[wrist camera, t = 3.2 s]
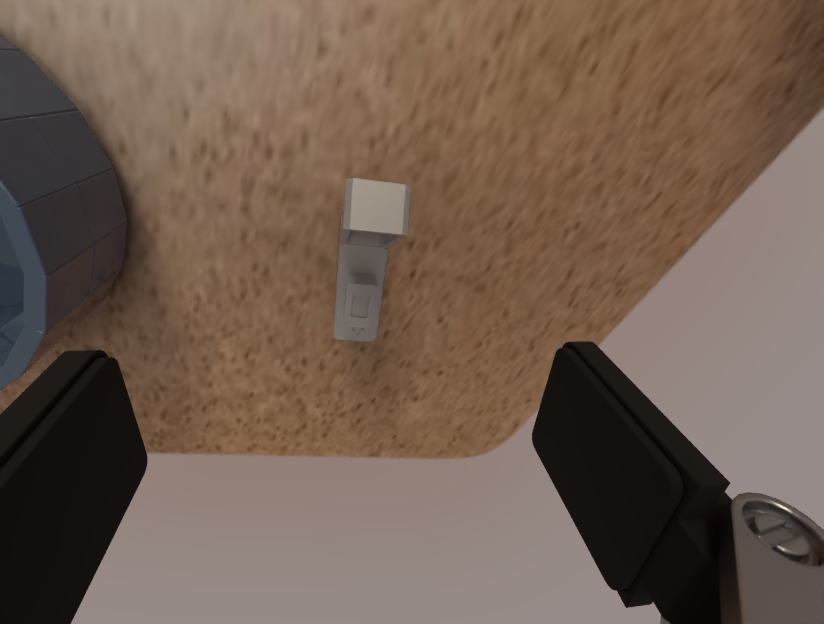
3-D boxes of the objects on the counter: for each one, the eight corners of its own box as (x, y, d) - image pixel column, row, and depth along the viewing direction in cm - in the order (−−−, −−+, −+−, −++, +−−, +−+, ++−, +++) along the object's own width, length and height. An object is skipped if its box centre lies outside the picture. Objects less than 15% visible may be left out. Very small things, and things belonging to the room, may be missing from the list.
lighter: (370, 294, 21) (382, 403, 14) (335, 291, 20) (329, 402, 14) (388, 144, 17) (415, 190, 11) (346, 138, 17) (346, 181, 10)
